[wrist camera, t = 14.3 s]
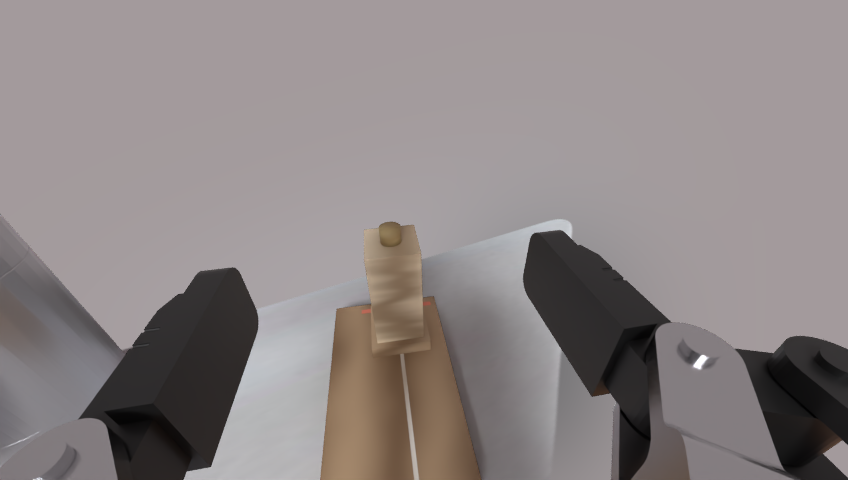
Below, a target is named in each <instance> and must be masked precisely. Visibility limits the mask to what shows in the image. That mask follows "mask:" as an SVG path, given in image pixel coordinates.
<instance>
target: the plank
mask: <svg viewBox="0 0 848 480" xmlns="http://www.w3.org/2000/svg"><path fill="white" fill-rule="evenodd" d="M423 308H424V313H425V317H426V322H427V327H428V331H429V336H430V341H431V350H425V351H418V352H411V353H404V354H397V355H391V356H384V357H377V358H373V353H372V339H371V304H370V305H362V306H354V307H346V308H339V309H337V311H336V321H335V332H334V342H333V353H332V363H331V373H330V384H329V394H328V405H327V415H326V426H325V436H324V446H323V457H322V467H321V478H320V480H481V476H480V472H479V468H478V465H477V461H476V457H475V453H474V449H473V445H472V442H471V438H470V434H469V430H468V426H467V422H466V418H465V415H464V411H463V407H462V403H461V399H460V395H459V392H458V388H457V384H456V380H455V376H454V372H453V368H452V365H451V361H450V357H449V353H448V349H447V345H446V342H445V338H444V334H443V330H442V326H441V322H440V318H439V315H438V311H437V307H436V303H435V299H434V296H432V297H425V298H423Z"/></svg>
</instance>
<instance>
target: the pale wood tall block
mask: <svg viewBox="0 0 848 480" xmlns="http://www.w3.org/2000/svg"><path fill="white" fill-rule="evenodd" d="M364 262H365V268H366V275H367V281H368V287H369V293H370V300H371V339H372V353H373V358H377V357H384V356H391V355H397V354H404V353H411V352H418V351H425V350H431V341H430V336H429V331H428V327H427V322H426V317H425V313H424V308H423V295H422V264H421V251H420V247H419V243H418V239H417V235H416V231H415V227H414V225H406V226H400V224H398V223H396V222H386V223H383V224H381V225H380V226H379V228H376V229H366V230H364Z"/></svg>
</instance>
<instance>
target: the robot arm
mask: <svg viewBox="0 0 848 480" xmlns="http://www.w3.org/2000/svg"><path fill="white" fill-rule="evenodd" d="M523 282H524V288H525V291H526V293H527V295H528V297H529V299H530V300H531V302H532V303H533V305H534V307H535V308H536V310H537V311H538V313H539V314H540V316H541V318H542V319H543V321H544V322H545V324H546V325H547V327H548V329H549V330H550V332H551V333H552V335H553V336H554V338H555V340H556V341H557V343H558V344H559V346H560V347H561V349H562V351H563V352H564V354H565V355H566V357H567V358H568V360H569V362H570V363H571V365H572V366H573V368H574V369H575V371H576V373H577V374H578V376H579V377H580V379H581V380H582V382H583V384H584V385H585V387H586V388H587V390H588V391H589V393H590V395H591V396H592V397H593V396H599V395H604V394H609V393H611V395H612V396H613V398H614V399H615V400H616V404H615V406H614V410H613V435H612V467H611V480H848V478H847V477H846V476H845V475H844V474H843V473H842V472H841V471H840V470H839V469H838V468H837V467H836V466H835V465H834V464H833V463H832V462H831V461H830V460H829V459H828V458H827V457H825V456H824V455H823V453H825V452H826V451H827V450H829V449H830V448H832V447H833V446H835V445H836V444H837V443H839V442H840V441H842V440H843V441H844V442H845V443H846V444H848V349H846V348H843V347H841V346H839V345H836V344H834V343H831V342H828V341H824V340H821V339H818V338H813V337H806V336H794V337H790V338H788V339H786V340H785V341H784V343H783V344H782V345H781V346H780V347H779V348H778V349H777V350H776V351H775V352H774V353H766V352H758V351H750V350H741V349H734V348H733V347H732V346H731V345H729V344H728V343H727V342H726V341H724V340H723V339H721V338H720V337H718V336H717V335H715V334H713V333H711V332H709V331H707V330H705V329H702V328H700V327H697V326H694V325H690V324H685V323H675V322H670V321H669V320H668V319H667V318H666V317H665V316H664V315H663V314H662V313H661V312H660V311H659V310H658V309H656V308H655V307H654V306H653V305H652V304H651V303H650V302H649V301H648V300H647V299H646V298H645V297H644V296H643V295H641V294H640V293H639V292H638V291H637V290H636V289H635V288H634V287H633V286H632V285H631V284H630V283H628V282H627V281H624V280H623V277H622V276H621V275H620V274H619V273H618V272H617V271H615V270H612V267H611V266H610V265H609V264H608V263H607V262H606V261H605V260H604V259H603V258H602V257H601V256H600V255H598V254H596V253H594V252H593V251H591V250H589V249H587V248H585V247H583V246H581V245H577V244H576V243H575V242H574V241H573V240H572V239H571V238H570V237H569V236H568V235H567V234H566V233H565V232H563V231H561V230H557V231H548V232H540V233H534V234H533V235H532V236H531V238H530V242H529V248H528V253H527V258H526V264H525V269H524V274H523ZM144 330H145V332H144V333H141V334H140V336H139V337H138V338H137V340H136V341H135V342H134V344H133V349H129V351H128V352H127V353H126V355H125V354H124V353H123V352H122V350H121V349H120V348H119V347H118V346H117V345H116V343H115V342H114V341H113V340H112V339H111V338H110V336H109V335H108V334H107V333H106V332H105V331H104V330H103V329H102V328H101V326H100V325H99V324H98V323H97V322H96V321H95V320H94V318H93V317H92V316H91V315H90V314H89V313H88V312H87V311H86V309H85V308H84V307H83V306H82V305H81V304H80V303H79V302H78V301H77V299H76V298H75V297H74V296H73V295H72V294H71V293H70V291H69V290H68V289H67V288H66V287H65V286H64V285H63V284H62V282H61V281H60V280H59V279H58V278H57V277H56V276H55V275H54V273H52V271H51V270H50V269H49V268H48V267H47V266H46V264H45V263H44V262H43V261H42V260H41V259H40V258H39V257H38V256H37V254H36V253H35V252H34V251H33V250H32V249H31V248H30V247H29V245H28V244H27V243H26V242H25V241H24V240H23V239H22V238H21V237H20V236H19V235H18V233H17V232H16V231H15V230H14V229H13V228H12V227H11V225H10V224H9V223H8V222H7V221H6V220H5V219H4V217H3V216H2V215H1V214H0V480H183V479H184V477H185V474H186V472H187V471H192V470H197V469H202V468H208V467H211V465H212V462H213V459H214V456H215V453H216V450H217V447H218V444H219V442H220V439H221V436H222V433H223V430H224V427H225V424H226V421H227V418H228V416H229V413H230V410H231V407H232V404H233V401H234V398H235V395H236V392H237V390H238V387H239V384H240V381H241V378H242V375H243V372H244V369H245V366H246V364H247V361H248V358H249V355H250V352H251V349H252V346H253V343H254V340H255V338H256V335H257V331H258V314H257V310H256V308H255V306H254V303H253V301H252V299H251V297H250V294H249V292H248V290H247V288H246V285H245V283H244V281H243V279H242V277H241V274H240V273H239V271H238V270H237V269H236V268H224V269H216V270H208V271H201V272H199V273H198V274H197V275H196V276H195V277H194V279H193V280H192V282H191V283H190V285H189V286H188V288H187V289H186V291H185V292H184V293H183V294H178V295H177V296H175V297H174V298H173V299H172V300H170V301H169V302H168V303H167V304H165V305H164V306H163V307H162V308H160V309H159V310H158V311H157V313H156V314H155V315H154V316H153V318H152V319H151V321H150V322H149V324H148V325H147V326H146V327H145V329H144Z"/></svg>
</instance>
